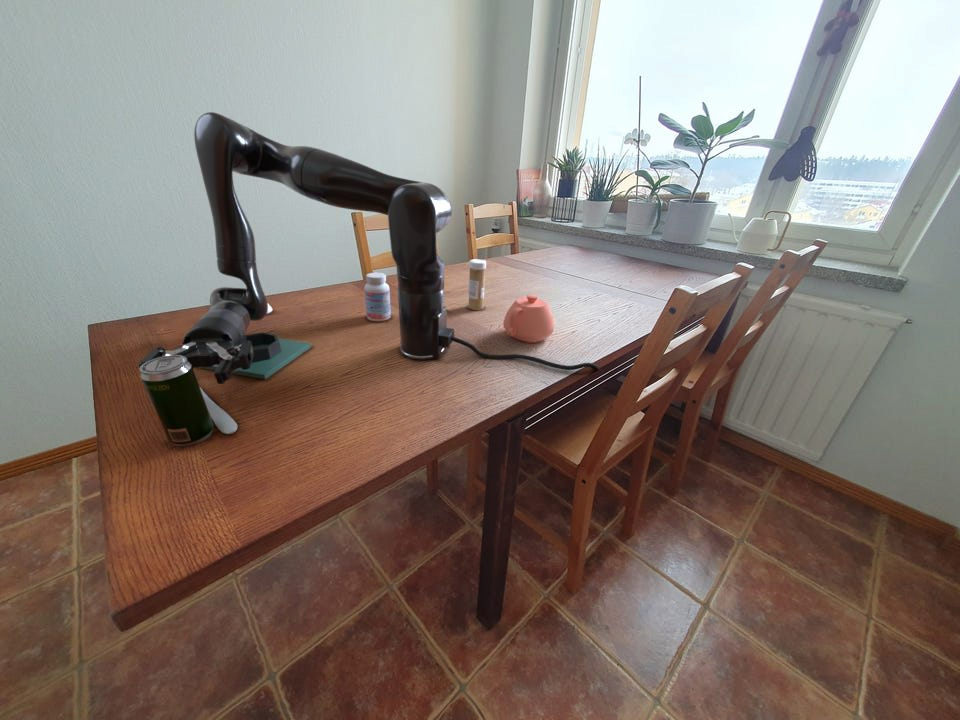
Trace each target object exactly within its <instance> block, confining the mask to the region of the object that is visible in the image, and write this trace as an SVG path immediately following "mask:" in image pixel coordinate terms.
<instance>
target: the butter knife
mask: <svg viewBox="0 0 960 720" xmlns="http://www.w3.org/2000/svg"><path fill="white" fill-rule="evenodd" d="M199 387H200V389H201V392H202V395H203V398H204V400H205V403H206V406H207V409H208V411H209V414H210V417H211V420H212V422H213V424H214V425H215V426H216V427H217V429H218V430H219V431H220V432H221V433H222V434H226V435H231V434H234V433H235V432H237V430H238V424H237V422H236V421H235V420H234V419H233V418H232V417H231V416H230V415H229V414H228V413H227V412H226V410H224V409H223V408H221V407H220V406H218V405H217V404H216V402H214V401H213V399H211V398H210V397H209V396H208V395H207V393H205V391H204V390H203V389H202V387H201V386H200V385H199Z"/></svg>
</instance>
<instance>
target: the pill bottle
mask: <svg viewBox="0 0 960 720" xmlns="http://www.w3.org/2000/svg"><path fill="white" fill-rule="evenodd" d="M365 276H366V277H365V278H366V282H367V283H366V284H365V285H364V286H363V287H364V289H363V291H364V300H365V313H366V318H367V320H369V321H371V322H385V321H388V320H389V319H390V318H391V317H392V311H391V293H390V291H391V290H390V285H389V284H388V283H387V275H386V273H383V272H369V273H367V274H366V275H365Z"/></svg>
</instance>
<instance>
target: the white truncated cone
mask: <svg viewBox="0 0 960 720" xmlns="http://www.w3.org/2000/svg"><path fill="white" fill-rule="evenodd" d="M267 304H268V311H267V314H270V313H272V312H273V308H272V306H271V305H270V304H269V303H268V302H267ZM267 314H266V315H267Z"/></svg>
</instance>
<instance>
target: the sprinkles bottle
mask: <svg viewBox="0 0 960 720" xmlns="http://www.w3.org/2000/svg"><path fill="white" fill-rule="evenodd" d="M468 267H469V278H468V304H467V308H468V309H470V310H473V311H481V310H483V309H484V306H485V305H484V301H485V300H484V298H485V283H486V282H485V279H486V278H485V277H486V269H487V261H486V260H485V259H479V258H475V259H470V260H469V262H468Z"/></svg>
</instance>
